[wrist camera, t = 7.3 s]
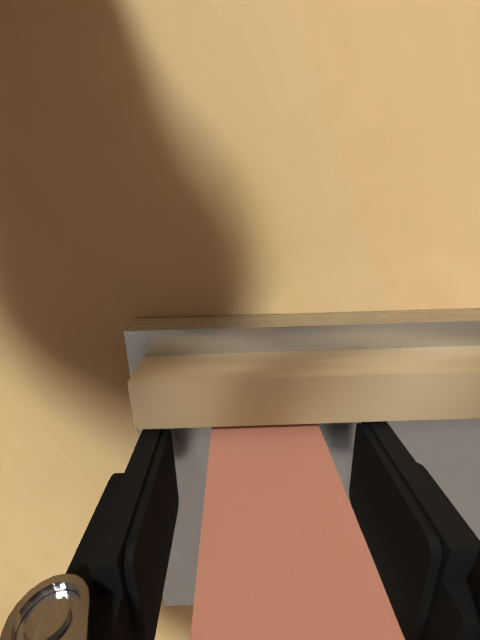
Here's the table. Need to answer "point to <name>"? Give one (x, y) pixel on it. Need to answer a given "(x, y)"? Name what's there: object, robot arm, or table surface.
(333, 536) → the block
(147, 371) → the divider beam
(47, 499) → the table surface
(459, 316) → the bolt plate
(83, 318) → the table surface
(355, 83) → the table surface
